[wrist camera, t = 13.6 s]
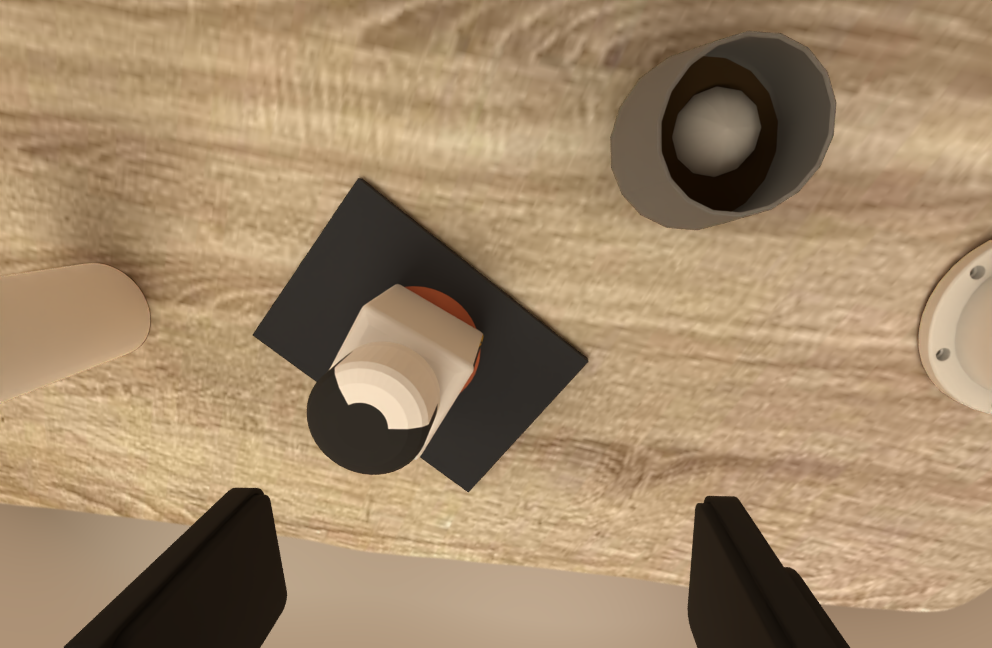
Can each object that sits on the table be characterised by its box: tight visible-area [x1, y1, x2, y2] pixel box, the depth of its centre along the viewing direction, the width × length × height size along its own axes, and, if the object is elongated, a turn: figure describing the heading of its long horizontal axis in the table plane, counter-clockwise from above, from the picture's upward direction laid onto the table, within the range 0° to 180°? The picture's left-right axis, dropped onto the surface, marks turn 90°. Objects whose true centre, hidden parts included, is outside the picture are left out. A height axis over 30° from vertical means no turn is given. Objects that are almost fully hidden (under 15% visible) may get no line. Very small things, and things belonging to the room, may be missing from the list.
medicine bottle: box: [307, 284, 484, 475], centre depth 28 cm, size 7×7×12 cm
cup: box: [611, 31, 836, 230], centre depth 25 cm, size 10×9×10 cm
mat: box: [253, 178, 588, 492], centre depth 34 cm, size 20×14×1 cm
